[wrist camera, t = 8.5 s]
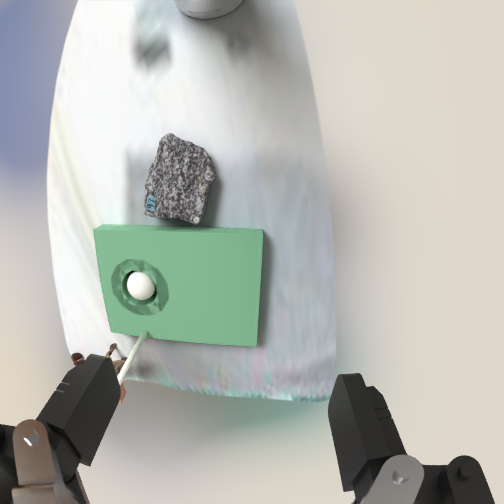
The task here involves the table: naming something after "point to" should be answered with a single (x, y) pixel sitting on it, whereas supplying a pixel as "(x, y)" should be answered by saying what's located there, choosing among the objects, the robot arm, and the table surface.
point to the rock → (178, 181)
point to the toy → (117, 364)
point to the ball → (140, 285)
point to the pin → (129, 362)
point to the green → (183, 281)
